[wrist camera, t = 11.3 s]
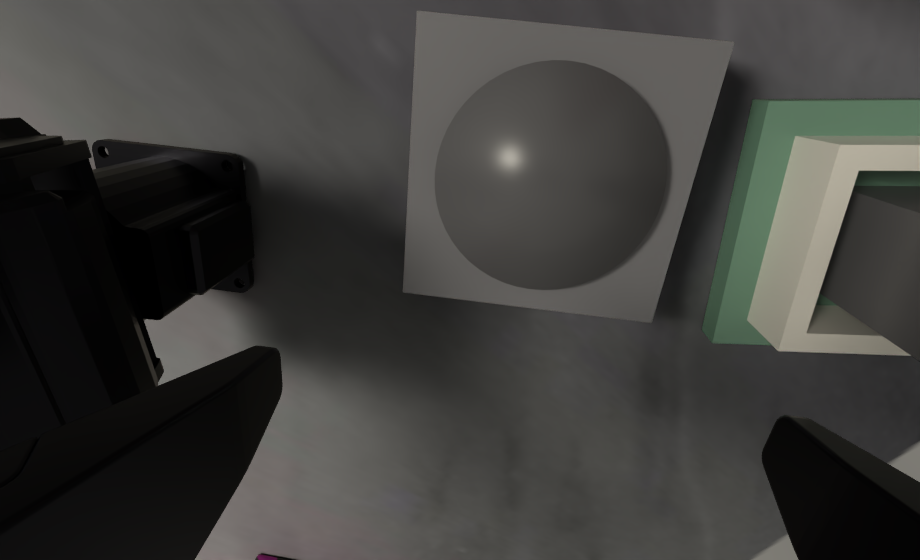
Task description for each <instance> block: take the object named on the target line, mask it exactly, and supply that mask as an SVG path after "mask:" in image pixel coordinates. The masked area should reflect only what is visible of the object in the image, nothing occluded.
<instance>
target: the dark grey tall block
mask: <svg viewBox="0 0 920 560" xmlns="http://www.w3.org/2000/svg"><path fill="white" fill-rule="evenodd" d="M820 294H822V295H823V296H824V297H826V298H827V299H829V300H830V301H832V302H833V303H835V304H836V305H838V306H839V307H841V308H842V309H844V310H845V311H846V312H848V313H849V314H851V315H852V316H854V317H855V318H857V319H858V320H860V321H861V322H863V323H864V324H865V325H867V326H868V327H870V328H871V329H873V330H874V331H876V332H877V333H879V334H880V335H882V336H883V337H885V338H886V339H887V340H889V341H890V342H892V343H893V344H895V345H896V346H898V347H899V348H901V349H902V350H904V351H905V352H906V353H908V354H909V355H911V356H912V357H914V358H915V359H917V360H918V361H920V186H854V187H853V190H852V193H851V197H850V200H849V203H848V206H847V209H846V212H845V215H844V218H843V221H842V224H841V227H840V231H839V234H838V237H837V240H836V243H835V246H834V249H833V252H832V255H831V258H830V262H829V265H828V268H827V271H826V274H825V277H824V280H823V283H822V286H821V289H820Z"/></svg>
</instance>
